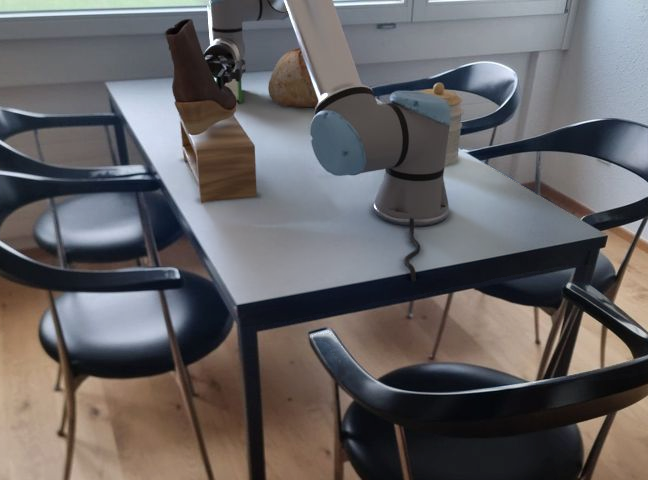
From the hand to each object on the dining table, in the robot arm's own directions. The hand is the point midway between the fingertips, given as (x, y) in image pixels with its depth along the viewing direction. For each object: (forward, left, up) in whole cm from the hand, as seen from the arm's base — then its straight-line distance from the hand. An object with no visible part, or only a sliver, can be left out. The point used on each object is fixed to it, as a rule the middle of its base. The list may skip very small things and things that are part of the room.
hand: (202, 82), depth 146 cm
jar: (-1, -55, -20) cm, 58 cm away
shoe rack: (-1, -2, -20) cm, 20 cm away
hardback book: (+69, -17, -20) cm, 74 cm away
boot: (-1, -1, -8) cm, 8 cm away
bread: (+57, -41, -20) cm, 73 cm away
